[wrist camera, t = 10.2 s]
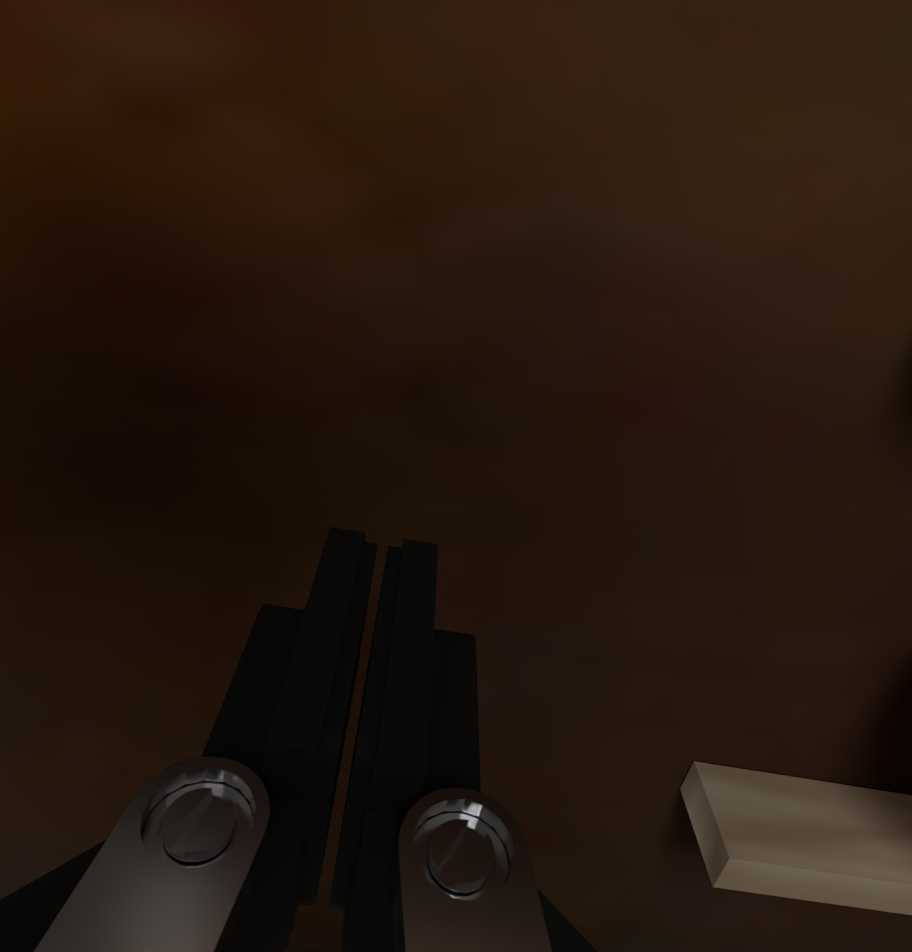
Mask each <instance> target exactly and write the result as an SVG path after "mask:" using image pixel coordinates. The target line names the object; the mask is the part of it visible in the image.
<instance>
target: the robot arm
mask: <svg viewBox="0 0 912 952" xmlns="http://www.w3.org/2000/svg"><path fill="white" fill-rule="evenodd" d="M364 540H365V533H364V532H358V531H351V530H345V529H339V528H332V527H331V528H330V530H329V533H328V536H327V539H326V543H325V546H324V549H323V553H322V556H321V559H320V562H319V566H318V569H317V572H316V576H315V579H314V582H313V585H312V589H311V592H310V595H309V599H308V602H307V605H306V608H305V610H300V609H293V608H287V607H280V606H273V605H266V604H264V605H263V606H262V607H261V609H260V611H259V613H258V615H257V618H256V620H255V623H254V625H253V628H252V630H251V633H250V636H249V638H248V641H247V643H246V646H245V648H244V651H243V653H242V656H241V658H240V661H239V663H238V666H237V669H236V671H235V674H234V676H233V679H232V681H231V684H230V686H229V689H228V691H227V694H226V696H225V699H224V701H223V704H222V707H221V709H220V712H219V714H218V717H217V719H216V722H215V724H214V727H213V729H212V732H211V734H210V737H209V740H208V742H207V745H206V747H205V750H204V752H203V755H202V757H200V758H193V759H188V760H185V761H183V762H180V763H178V764H175V765H172V766H170V767H168V768H166V769H165V770H163V771H162V772H160V773H159V774H158V775H156V776H155V777H153V778H152V779H150V780H149V781H148V782H147V783H146V785H145V786H144V787H143V788H142V789H141V790H140V791H139V793H138V794H137V795H136V796H135V797H134V799H133V800H132V802H131V803H130V805H129V806H128V808H127V809H126V811H125V813H124V814H123V816H122V817H121V819H120V820H119V822H118V823H117V825H116V826H115V828H114V829H113V831H112V832H111V834H110V836H109V837H108V839H107V840H105V841H103V842H102V843H100V844H98V845H96V846H95V847H93V848H91V849H89V850H87V851H86V852H84V853H82V854H80V855H79V856H77V857H75V858H73V859H72V860H70V861H68V862H66V863H64V864H63V865H61V866H59V867H57V868H56V869H54V870H52V871H50V872H49V873H47V874H45V875H43V876H42V877H40V878H38V879H36V880H34V881H33V882H31V883H29V884H27V885H26V886H24V887H22V888H20V889H19V890H17V891H15V892H13V893H11V894H10V895H8V896H6V897H4V898H3V899H1V900H0V952H282V951H284V950H285V949H286V948H287V946H288V941H289V936H290V932H293V930H294V925H295V920H296V915H297V910H298V905H299V904H303V905H312V906H315V902H316V897H317V892H318V886H319V880H320V875H321V869H322V864H323V858H324V852H325V847H326V841H327V836H328V830H329V825H330V819H331V813H332V808H333V802H334V797H335V791H336V785H337V780H338V774H339V769H340V763H341V758H342V752H343V746H344V741H345V735H346V730H347V724H348V718H349V713H350V707H351V702H352V696H353V690H354V685H355V679H356V673H357V667H358V661H359V655H360V648H361V642H362V636H363V630H364V624H365V618H366V611H367V605H368V599H369V593H370V587H371V581H372V574H373V568H374V562H375V556H376V550H377V544H374V543H367V542H364ZM437 553H438V545H437V544H433V543H427V542H421V541H414V540H408V539H403V543H402V548H399V547H393V546H388V551H387V557H386V563H385V569H384V574H383V580H382V586H381V592H380V598H379V604H378V609H377V615H376V621H375V627H374V633H373V638H372V644H371V650H370V656H369V662H368V667H367V673H366V679H365V685H364V691H363V697H362V704H361V710H360V716H359V722H358V728H357V735H356V741H355V747H354V753H353V759H352V766H351V772H350V778H349V784H348V790H347V796H346V803H345V809H344V815H343V821H342V827H341V834H340V840H339V846H338V852H337V858H336V864H335V871H334V877H333V883H332V889H331V895H330V902H329V907H331V908H340V909H345V911H344V918H343V925H342V932H341V937H343V941H342V949H341V952H597V951H596V950H595V949H594V948H593V947H592V946H591V945H590V944H589V942H588V941H587V940H586V939H585V938H584V937H583V936H582V935H581V934H580V933H579V932H578V931H577V930H576V929H575V928H574V927H573V926H572V925H571V923H570V922H569V921H568V920H567V919H566V918H565V917H564V916H563V915H562V914H561V913H560V912H559V911H558V910H557V909H556V908H555V907H554V906H553V904H552V903H551V902H550V901H549V900H548V899H547V898H546V897H545V896H544V895H543V894H542V893H541V892H540V891H539V890H538V889H537V886H536V882H535V878H534V874H533V869H532V865H531V861H530V857H529V853H528V849H527V844H526V842H525V839H524V837H523V834H522V832H521V829H520V827H519V825H518V824H517V822H516V821H515V820H514V818H513V817H512V816H511V814H510V813H509V812H508V810H507V809H506V808H504V807H503V806H502V805H500V804H499V803H498V802H497V801H495V800H494V799H493V798H492V797H490V796H487V795H485V794H483V793H481V790H480V759H479V728H478V698H477V667H476V643H475V637H474V635H470V634H463V633H456V632H450V631H443V630H436V629H434V617H435V596H436V574H437Z"/></svg>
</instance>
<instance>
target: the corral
mask: <svg viewBox="0 0 912 952" xmlns="http://www.w3.org/2000/svg"><path fill="white" fill-rule="evenodd" d="M680 790H681V793H682V796H683V799H684V802H685V805H686V808H687V811H688V814H689V817H690V820H691V823H692V826H693V829H694V832H695V835H696V838H697V841H698V844H699V847H700V850H701V853H702V856H703V859H704V862H705V865H706V868H707V871H708V874H709V877H710V880H711V883H712V886H713V887H716V888H723V889H730V890H738V891H745V892H752V893H759V894H766V895H773V896H780V897H787V898H794V899H801V900H808V901H815V902H822V903H829V904H836V905H844V906H851V907H858V908H865V909H872V910H879V911H886V912H893V913H900V914H907V915H912V795H907V794H901V793H894V792H888V791H881V790H875V789H869V788H862V787H856V786H849V785H843V784H836V783H830V782H824V781H817V780H811V779H804V778H798V777H791V776H785V775H779V774H772V773H766V772H759V771H753V770H746V769H740V768H734V767H727V766H721V765H714V764H708V763H701V762H695V761H694V762H693V764H692V766H691V768H690V770H689V772H688V774H687V776H686V778H685V780H684V782H683V784H682V786H681V788H680Z"/></svg>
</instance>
